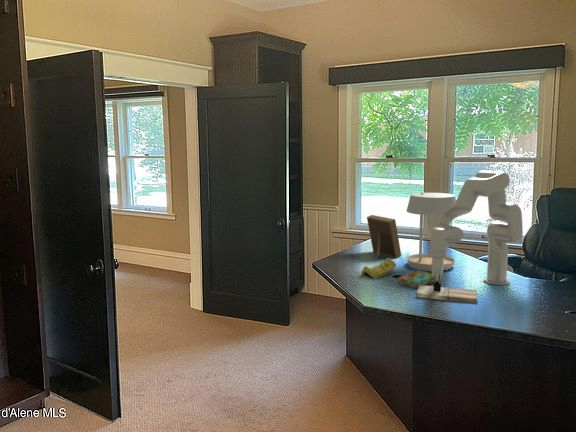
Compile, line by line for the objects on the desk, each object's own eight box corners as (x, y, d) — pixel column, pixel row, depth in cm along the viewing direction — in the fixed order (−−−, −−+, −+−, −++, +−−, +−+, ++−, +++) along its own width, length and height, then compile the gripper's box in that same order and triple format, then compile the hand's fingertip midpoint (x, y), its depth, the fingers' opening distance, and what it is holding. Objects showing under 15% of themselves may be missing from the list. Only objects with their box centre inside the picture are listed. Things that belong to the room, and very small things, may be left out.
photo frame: (378, 251, 347) (378, 214, 343) (401, 257, 329) (401, 218, 325) (360, 254, 340) (360, 216, 336) (383, 260, 322) (383, 220, 317)
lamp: (449, 274, 288) (452, 197, 281) (398, 268, 302) (400, 194, 296) (461, 263, 313) (464, 192, 306) (413, 258, 327) (415, 189, 320)
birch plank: (448, 291, 257) (448, 287, 256) (447, 300, 244) (447, 296, 243) (419, 288, 261) (419, 285, 261) (416, 297, 248) (416, 293, 248)
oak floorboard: (449, 291, 257) (449, 288, 256) (476, 294, 253) (476, 290, 252) (448, 300, 244) (448, 296, 243) (477, 303, 239) (477, 298, 239)
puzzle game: (398, 276, 270) (419, 269, 284) (398, 284, 271) (419, 277, 284) (417, 280, 262) (439, 272, 275) (417, 289, 262) (438, 281, 276)
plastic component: (376, 275, 280) (363, 264, 286) (372, 285, 284) (359, 274, 290) (399, 266, 293) (386, 256, 299) (395, 276, 297) (382, 266, 303)
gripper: (431, 249, 257) (430, 285, 260) (429, 256, 243) (427, 294, 246) (447, 250, 254) (446, 287, 257) (446, 257, 240) (444, 296, 243)
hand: (437, 290), depth 251 cm, fingers closed
